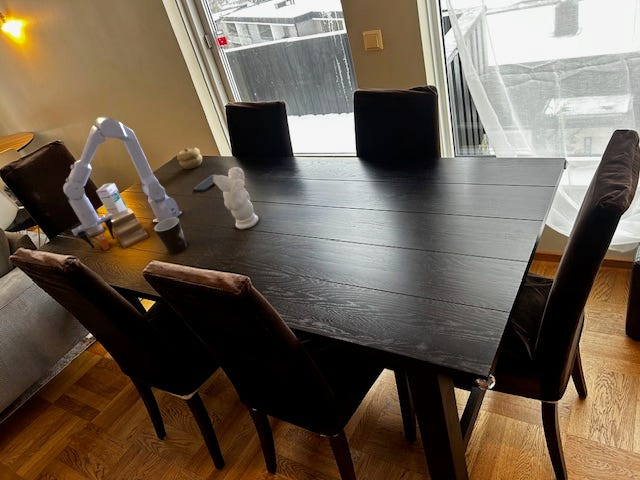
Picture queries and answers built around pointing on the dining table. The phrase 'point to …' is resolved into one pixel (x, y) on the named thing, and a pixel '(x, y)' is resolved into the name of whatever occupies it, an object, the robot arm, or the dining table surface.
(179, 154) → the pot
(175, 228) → the coffee mug
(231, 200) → the cherub figurine
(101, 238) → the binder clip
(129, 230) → the step shelf
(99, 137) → the robot arm
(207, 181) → the cell phone
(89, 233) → the travel mug
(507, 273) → the dining table surface
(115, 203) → the syrup box
